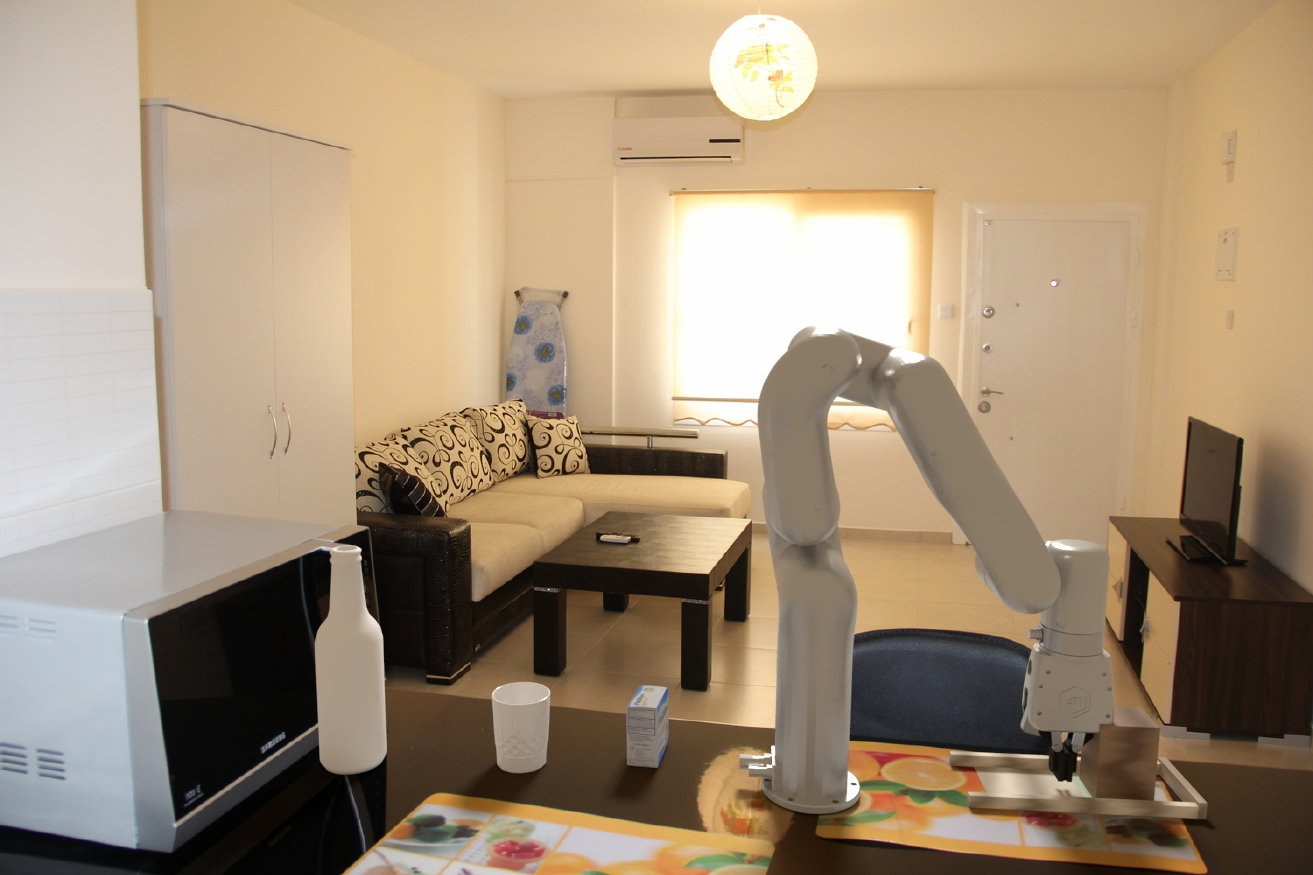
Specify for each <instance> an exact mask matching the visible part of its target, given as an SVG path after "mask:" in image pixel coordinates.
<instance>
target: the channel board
mask: <svg viewBox="0 0 1313 875" xmlns="http://www.w3.org/2000/svg"><path fill="white" fill-rule="evenodd" d="M948 760H949V761H948V762H949V765H950V766H954V767H956V766H957V767H972V768H974V770H975V772H976V774H977V777H978V778H979V782H981V785H982V786H983V789H984V791H985V792H984V791H981V792H980V791H967V802H966V803H967V806H968V808H976V809H994V810H995V809H997V810H1014V811H1035V812H1036V811H1037V812H1053V813H1054V812H1055V813H1072V814H1073V813H1075V814H1096V815H1112V816H1113V815H1114V816H1115V815H1116V816H1131V817H1132V816H1134V817H1135V816H1136V817H1152V818H1153V817H1155V818H1156V817H1157V818H1174V819H1176V818H1177V819H1195V820H1207V815H1208V813H1207V812H1208V807H1209V806H1208V805H1209V804H1208V802H1207V801H1206V800H1205V798H1203V797H1202V796H1201V794H1200V793H1199V791H1197V790H1196V789H1195V787H1193V785H1191V783H1190V782H1189V781H1188V780H1187V779H1186V778H1185V777H1184V776H1183V774H1182V773H1180V771H1179V770H1178V769H1177V768H1176V767H1175V766H1174V764H1172V762H1171V761H1170V760H1169V759H1168V758H1167V757H1166V756H1165V757H1164V756H1158V759H1157V771H1156V776H1160V777H1161V778H1162V779H1163V780H1164V782H1165V783H1166V785H1168V787H1169V788H1171V789H1172V791H1173V792H1174V794H1175V795H1176V796H1177V797H1178V798H1179V799H1180V800H1181V801H1172V800H1171V801H1167V800H1154V801H1151V800H1131V799H1110V798H1093V797H1092V796H1091V794H1090V793H1089V791H1088V790H1087V789H1086V787H1085V786H1084V784H1083V783H1082V781H1081V780H1080V778H1079V776H1080V762H1081V756H1077V768H1076V773H1073V776H1072V782H1067V781H1063V782H1058V780H1057V779H1056V777H1055V776H1054V774H1053V772H1051V771H1050V770H1049V766H1048V762H1049V755H1043V754H1021V753H1003V752H1002V753H999V752H997V753H996V752H979V751H978V752H977V751H976V752H975V751H974V752H973V751H959V750H958V751H957V750H956V751H954V750H950V751H949V759H948Z"/></svg>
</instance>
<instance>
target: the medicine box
mask: <svg viewBox="0 0 1313 875" xmlns="http://www.w3.org/2000/svg"><path fill="white" fill-rule="evenodd" d="M625 712H626V714H625V715H626V717H625V718H626V719H625V720H626V721H625V722H626V765H627V766H632V767H638V768H639V767H641V768H649V769H651V768H653V769H658V768H659V766H660V763H661V761H662V760H663V756H664V754H665V751H666V749H667V746H668V745H669V688H668V687H667V686H666V687H665V686H661V685H660V686H658V685H645V684H644V685H639V686H638V688H637V690H636V691H635V694H634V695H633V697H632V698H631V700H630V702H629V704H628V705H627V706H626V711H625Z"/></svg>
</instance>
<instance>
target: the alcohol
mask: <svg viewBox="0 0 1313 875" xmlns="http://www.w3.org/2000/svg"><path fill="white" fill-rule="evenodd" d="M361 553H362V548H361V547H359V546H357V545H351V544H347V545H338V546H335V547H333V548H332V549H330V551H329V554H330V558H329V562H330V565H331V566H330V568H331V569H330V571H331V572H330V589H329V590H330V591H329V592H330V594H329V595H330V596H329V609H328V610H329V611H328V614H327V617H326V618H325V619H324V621H323V622H322V623H321V625H320V626H319V628H318V630H317V632H316V637H315V640H314V657H315V658H314V660H315V677H316V678H315V682H316V683H315V684H316V699H317V700H316V703H317V705H316V706H317V722H318V724H317V728H318V747H319V761H320V763H321V764H322V766H323V768H325V770H326V771H328V772H330V773H333V774H336V775H355V774H361V773H365V772H368V771H370V770H371V771H372V770H373V769H375V768H377V767H378V766H379V765H380V764H381V763H382V762H383V761H384V759H385V758H386V755H387V752H388V751H387V750H388V749H387V747H388V743H387V720H386V719H387V715H386V714H387V713H386V691H385V690H386V689H385V686H386V685H385V662H384V660H385V659H384V658H385V657H384V654H385V653H384V636H383V633H382V632H383V631H382V628H381V626H380V624H379V623H378V622H377V620H376V619H375V618H374V617H373V616H372V615H371V614H370V613H369V610H368V608H367V604H366V596H365V588H364V579H363V572H362V570H363V569H362V562H361V561H362V559H363V558H362V555H361Z"/></svg>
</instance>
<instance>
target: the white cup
mask: <svg viewBox="0 0 1313 875" xmlns="http://www.w3.org/2000/svg"><path fill="white" fill-rule="evenodd" d="M491 704H492V718H493V722H492V723H493V734H494V745H495V748H496V764H497V766H498V767H499V768H500V770H502V771H505V772H508V773H510V774H527V773H532V772H535V771H538V770H540V769H542V768H543V766H544V765H545V764H546V763H547V750H548V743H549V732H550V731H549V730H550V729H549V727H550V711H551V710H550V706H551V690H550V689H549V688H548V687H547V686H546V685H544V684H541V683H537V682H531V681H518V682H511V683H507V684H503V685H500V686H498V687H497V688H495V689H494V690H493V691H492V693H491Z"/></svg>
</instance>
